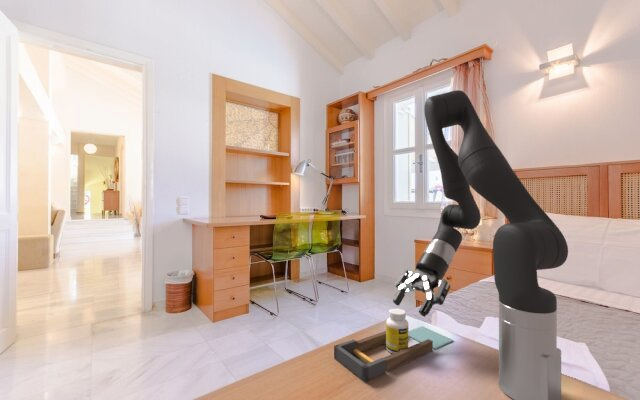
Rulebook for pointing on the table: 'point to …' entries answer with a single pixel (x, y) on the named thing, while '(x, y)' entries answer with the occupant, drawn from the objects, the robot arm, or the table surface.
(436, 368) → the table surface
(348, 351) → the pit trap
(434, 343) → the pad
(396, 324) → the supplement bottle
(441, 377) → the table surface
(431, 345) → the chute
